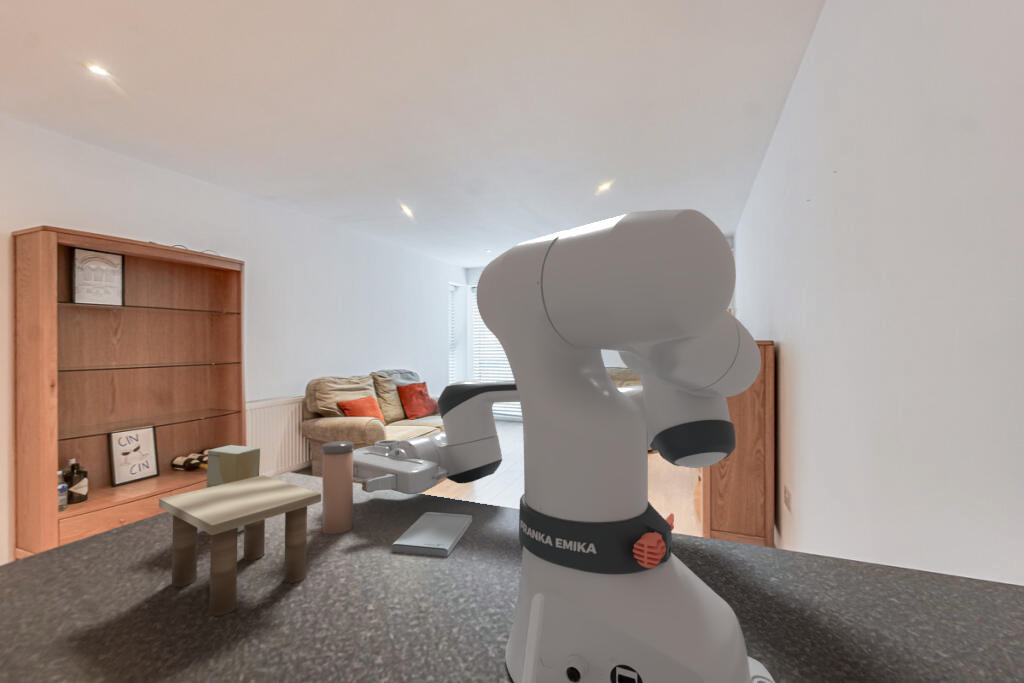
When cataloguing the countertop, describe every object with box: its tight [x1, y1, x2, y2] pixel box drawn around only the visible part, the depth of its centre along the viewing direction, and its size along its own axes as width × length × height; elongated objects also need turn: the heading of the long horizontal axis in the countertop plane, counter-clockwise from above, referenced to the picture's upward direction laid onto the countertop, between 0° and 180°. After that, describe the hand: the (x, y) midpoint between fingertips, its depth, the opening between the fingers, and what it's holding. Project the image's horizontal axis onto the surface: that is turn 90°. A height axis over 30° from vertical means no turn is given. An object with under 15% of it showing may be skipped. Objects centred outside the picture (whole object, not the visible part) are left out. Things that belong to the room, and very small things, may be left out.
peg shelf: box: [158, 475, 322, 617], centre depth 54 cm, size 14×12×10 cm
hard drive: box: [390, 511, 473, 557], centre depth 67 cm, size 2×8×12 cm
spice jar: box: [321, 440, 355, 535], centre depth 69 cm, size 5×5×13 cm
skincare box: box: [205, 444, 261, 534], centre depth 70 cm, size 6×4×12 cm
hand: (345, 481), depth 71 cm, fingers open, 8 cm apart
